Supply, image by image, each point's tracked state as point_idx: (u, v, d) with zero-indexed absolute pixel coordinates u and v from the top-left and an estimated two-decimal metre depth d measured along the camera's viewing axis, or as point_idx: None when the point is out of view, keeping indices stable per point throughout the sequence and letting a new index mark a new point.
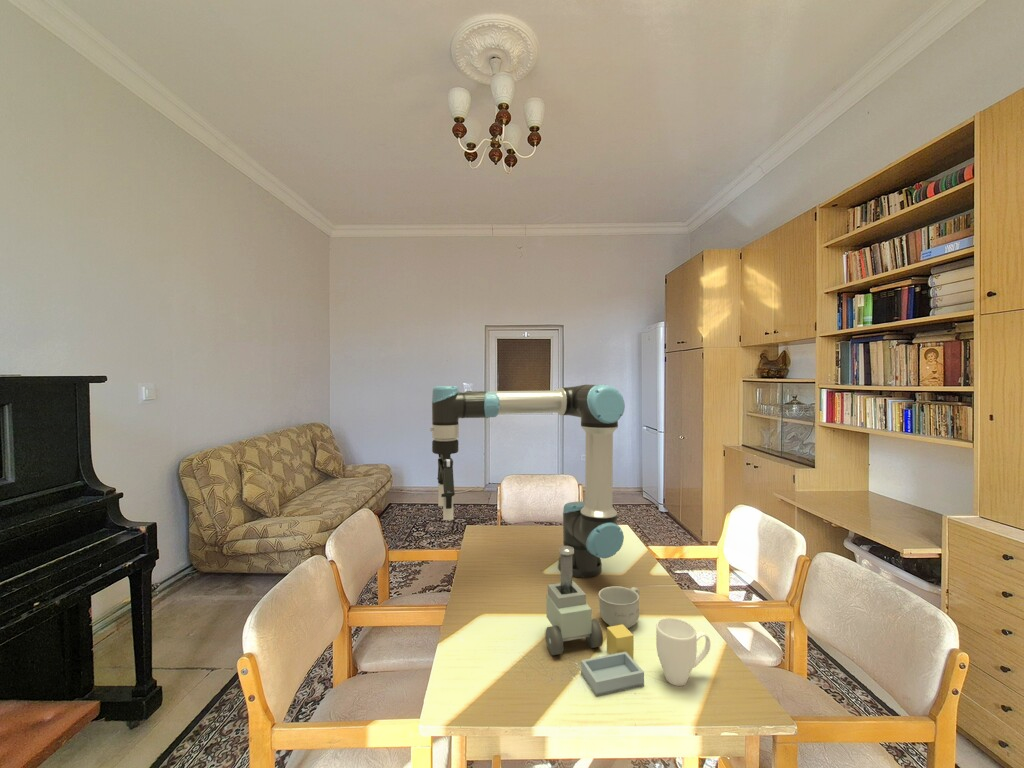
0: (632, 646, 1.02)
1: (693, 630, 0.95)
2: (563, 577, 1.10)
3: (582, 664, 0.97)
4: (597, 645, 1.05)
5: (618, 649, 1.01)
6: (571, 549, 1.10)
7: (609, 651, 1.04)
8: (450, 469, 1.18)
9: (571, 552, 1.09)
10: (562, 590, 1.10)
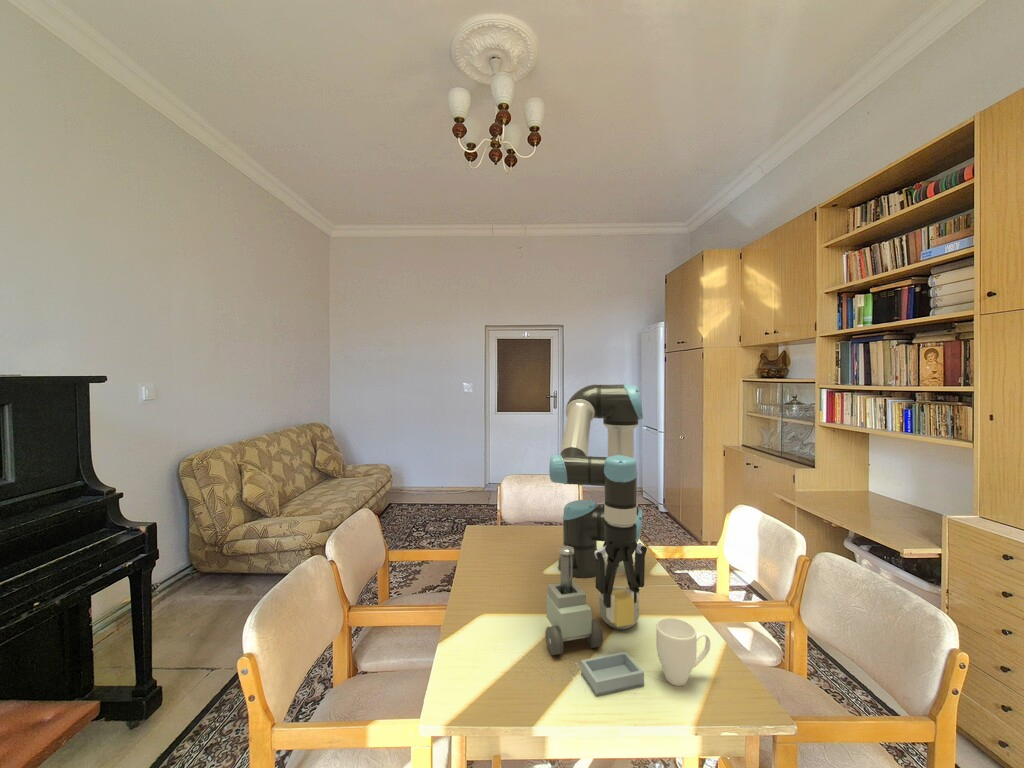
0: (632, 609, 1.02)
1: (693, 630, 0.95)
2: (563, 577, 1.10)
3: (582, 664, 0.97)
4: (597, 645, 1.05)
5: (618, 612, 1.01)
6: (571, 549, 1.10)
7: None
8: (598, 563, 1.02)
9: (571, 552, 1.09)
10: (562, 590, 1.10)
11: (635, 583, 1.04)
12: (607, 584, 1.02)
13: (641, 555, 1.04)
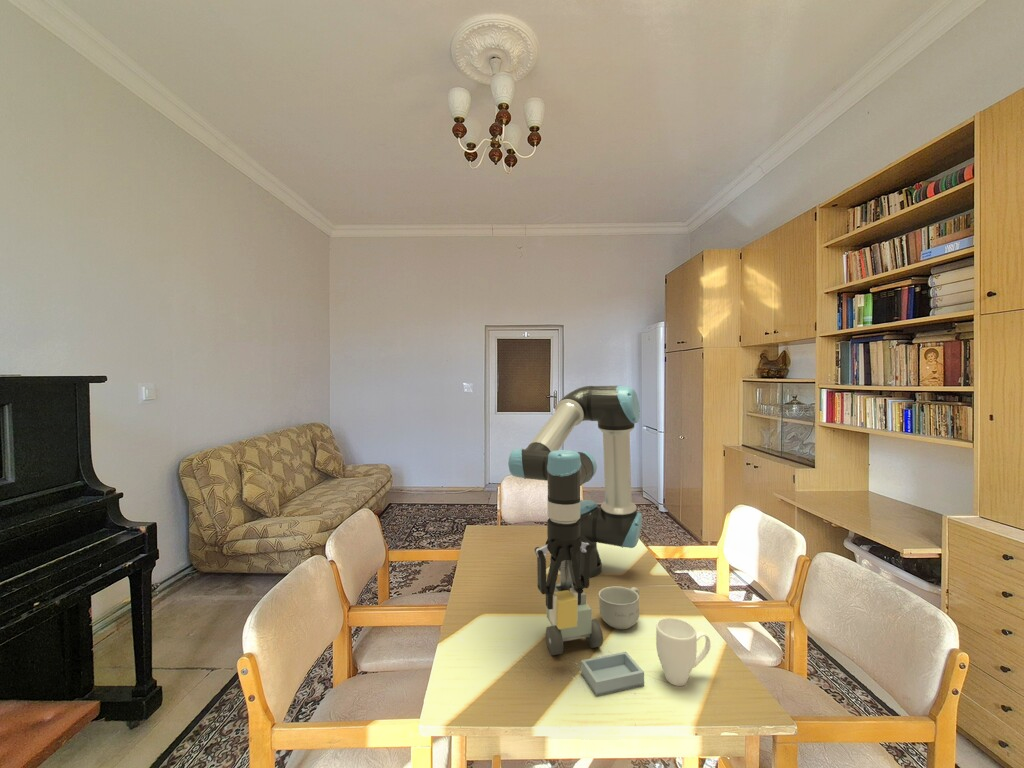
0: (575, 611, 0.97)
1: (693, 630, 0.95)
2: (563, 577, 1.10)
3: (582, 664, 0.97)
4: (597, 645, 1.05)
5: (560, 614, 0.96)
6: None
7: None
8: (539, 562, 0.97)
9: None
10: (562, 590, 1.10)
11: (579, 583, 0.99)
12: (549, 584, 0.98)
13: (586, 553, 0.99)
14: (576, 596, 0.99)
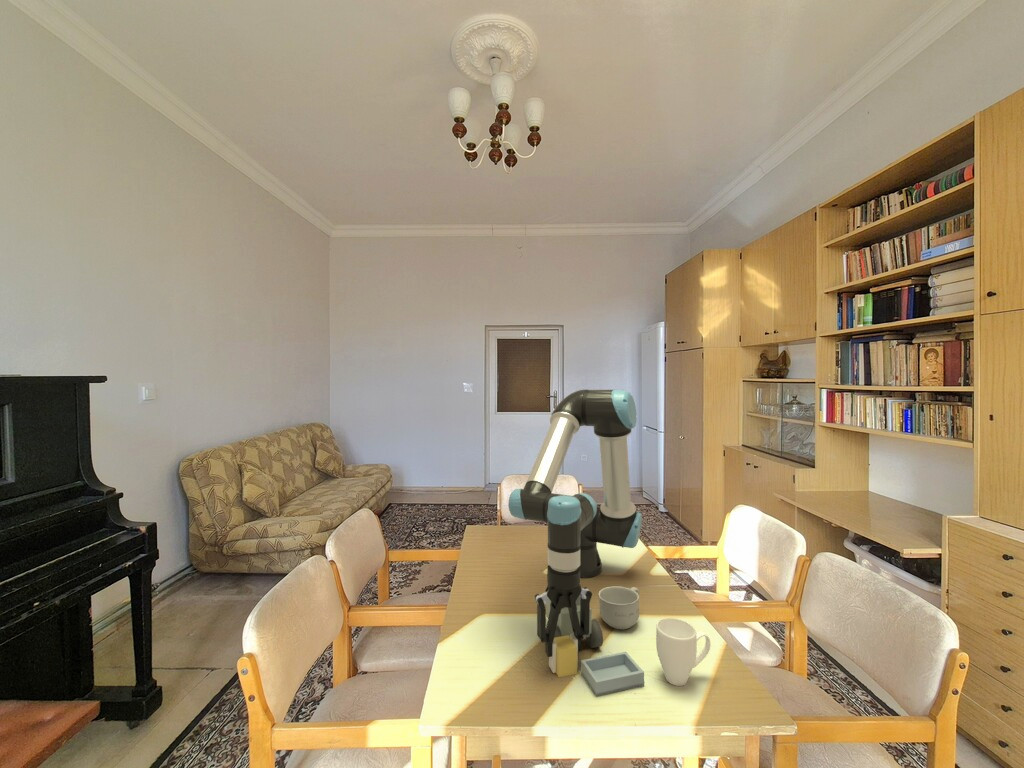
0: (575, 658, 0.97)
1: (693, 630, 0.95)
2: None
3: (582, 664, 0.97)
4: (597, 645, 1.05)
5: (560, 662, 0.96)
6: None
7: None
8: (539, 610, 0.97)
9: None
10: None
11: (579, 630, 0.99)
12: (548, 632, 0.98)
13: (586, 600, 1.00)
14: (576, 643, 0.99)
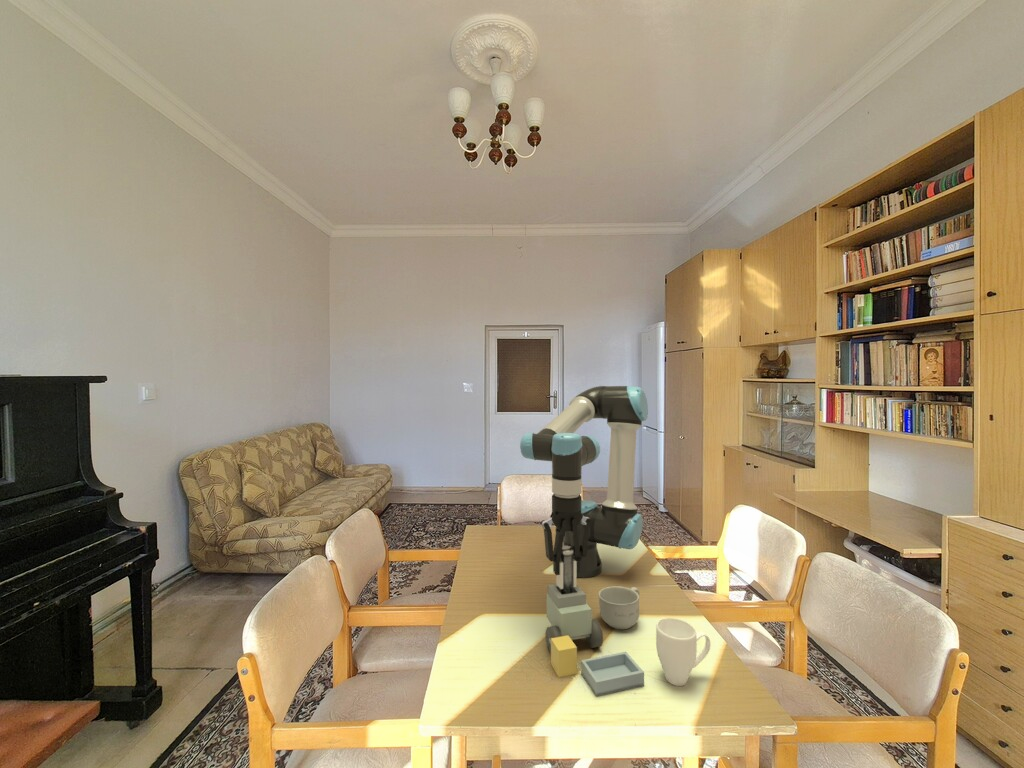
0: (575, 659, 0.97)
1: (693, 630, 0.95)
2: (563, 577, 1.10)
3: (582, 664, 0.97)
4: (597, 645, 1.05)
5: (560, 662, 0.96)
6: (571, 549, 1.10)
7: (553, 663, 0.99)
8: (546, 533, 1.09)
9: (571, 552, 1.09)
10: (562, 590, 1.10)
11: (578, 553, 1.10)
12: (556, 553, 1.09)
13: (586, 526, 1.11)
14: (575, 564, 1.10)
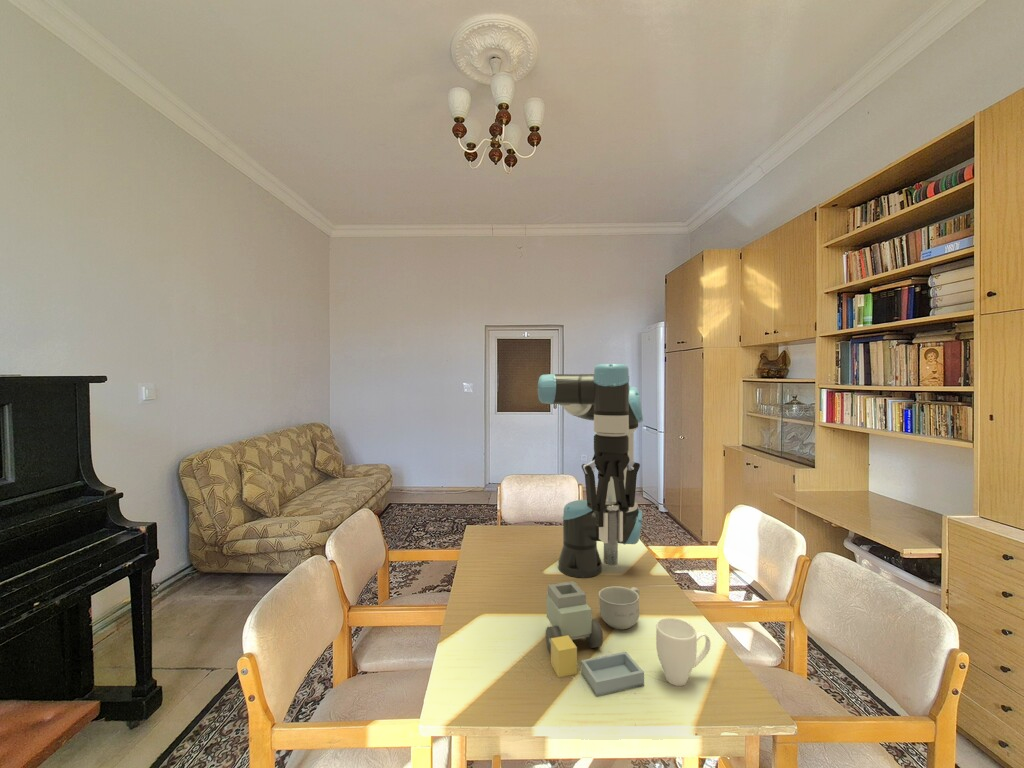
0: (575, 659, 0.97)
1: (693, 630, 0.95)
2: None
3: (582, 664, 0.97)
4: (597, 645, 1.05)
5: (560, 662, 0.96)
6: (616, 504, 0.95)
7: (553, 663, 0.99)
8: (588, 478, 0.93)
9: (617, 508, 0.94)
10: (606, 552, 0.94)
11: (625, 502, 0.95)
12: (599, 501, 0.94)
13: (633, 471, 0.96)
14: (621, 515, 0.95)
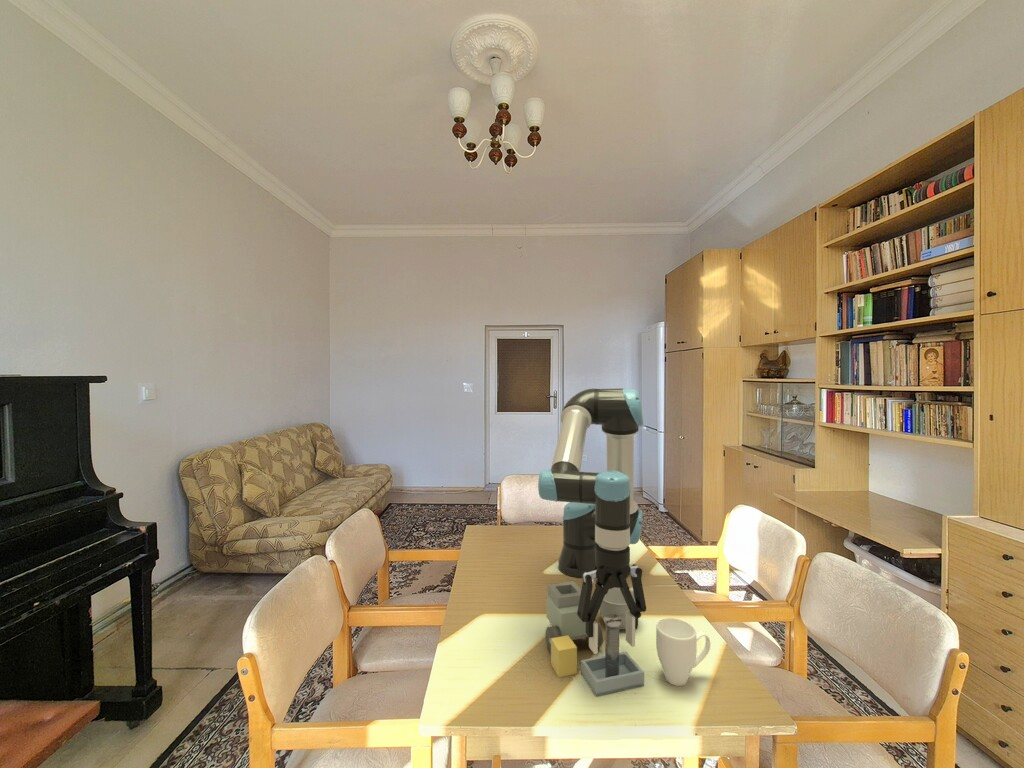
0: (575, 659, 0.97)
1: (693, 630, 0.95)
2: (609, 652, 0.94)
3: (582, 664, 0.97)
4: None
5: (560, 662, 0.96)
6: (618, 620, 0.95)
7: (553, 663, 0.99)
8: (585, 587, 0.93)
9: (618, 624, 0.94)
10: (608, 667, 0.94)
11: (635, 607, 0.96)
12: (591, 611, 0.93)
13: (637, 578, 0.96)
14: (634, 620, 0.95)
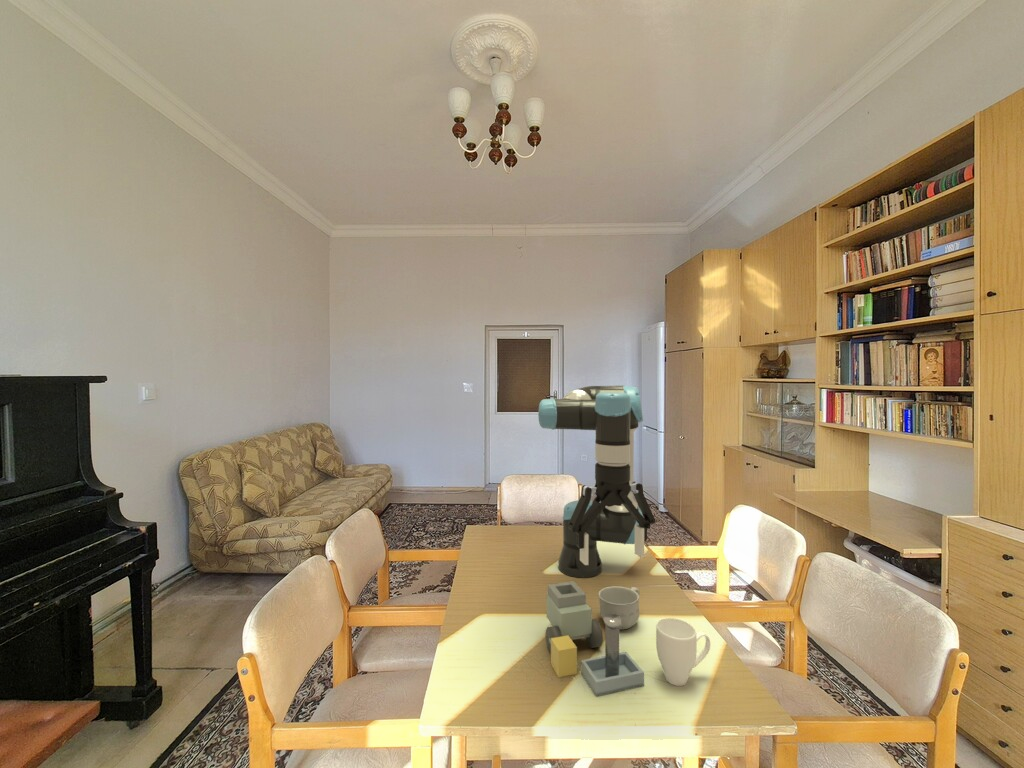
0: (575, 659, 0.97)
1: (693, 630, 0.95)
2: (609, 652, 0.94)
3: (582, 664, 0.97)
4: (597, 645, 1.05)
5: (560, 662, 0.96)
6: (618, 619, 0.95)
7: (553, 663, 0.99)
8: (583, 499, 0.93)
9: (618, 624, 0.94)
10: (608, 667, 0.94)
11: (643, 520, 0.96)
12: (584, 522, 0.93)
13: (639, 493, 0.96)
14: (643, 531, 0.96)
